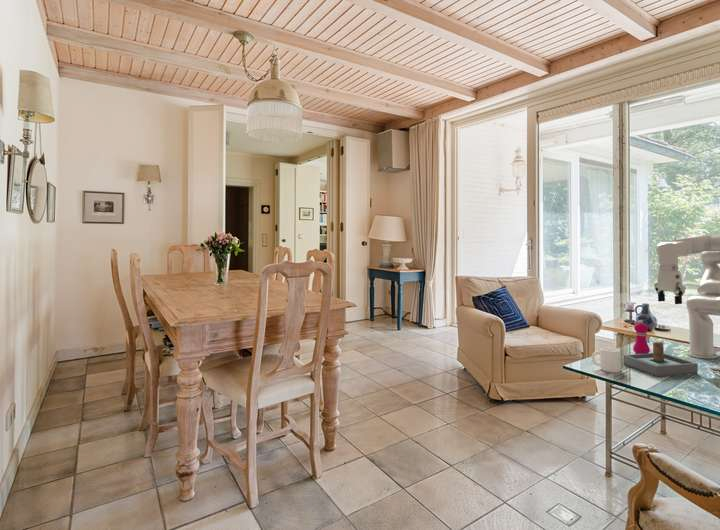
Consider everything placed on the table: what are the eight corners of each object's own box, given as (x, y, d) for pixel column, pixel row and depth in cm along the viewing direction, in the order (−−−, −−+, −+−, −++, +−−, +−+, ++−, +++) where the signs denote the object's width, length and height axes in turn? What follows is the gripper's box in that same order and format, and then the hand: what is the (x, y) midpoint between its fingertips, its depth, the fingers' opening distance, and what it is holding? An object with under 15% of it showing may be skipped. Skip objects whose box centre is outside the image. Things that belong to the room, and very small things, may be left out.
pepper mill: (652, 359, 205) (652, 321, 205) (637, 359, 207) (636, 321, 206) (645, 355, 212) (645, 318, 212) (630, 355, 214) (629, 319, 213)
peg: (659, 365, 192) (658, 341, 192) (666, 368, 188) (665, 343, 188) (651, 366, 192) (650, 341, 191) (658, 368, 188) (657, 343, 187)
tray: (661, 362, 201) (660, 352, 201) (697, 374, 181) (697, 363, 181) (623, 364, 199) (623, 355, 199) (656, 377, 180) (656, 366, 179)
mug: (591, 370, 194) (590, 349, 193) (592, 365, 200) (592, 345, 200) (620, 374, 187) (619, 352, 186) (621, 369, 193) (620, 348, 193)
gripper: (691, 268, 187) (692, 304, 188) (660, 266, 204) (662, 299, 205) (676, 269, 186) (678, 305, 187) (647, 267, 204) (648, 300, 205)
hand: (669, 302), depth 196 cm, fingers open, 9 cm apart
